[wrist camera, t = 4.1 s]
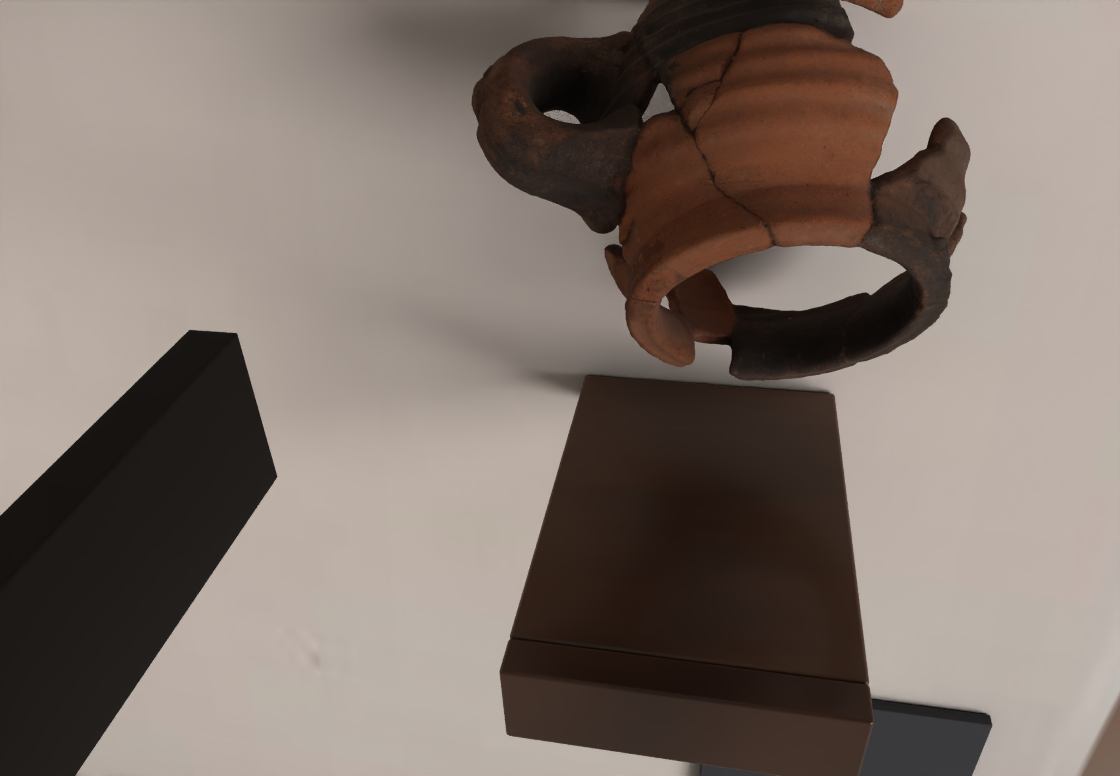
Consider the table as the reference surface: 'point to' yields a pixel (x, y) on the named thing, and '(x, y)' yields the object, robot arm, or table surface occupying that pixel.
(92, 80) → the table surface
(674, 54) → the pottery mug
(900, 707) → the mat
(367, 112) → the table surface
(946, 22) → the table surface
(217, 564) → the robot arm
